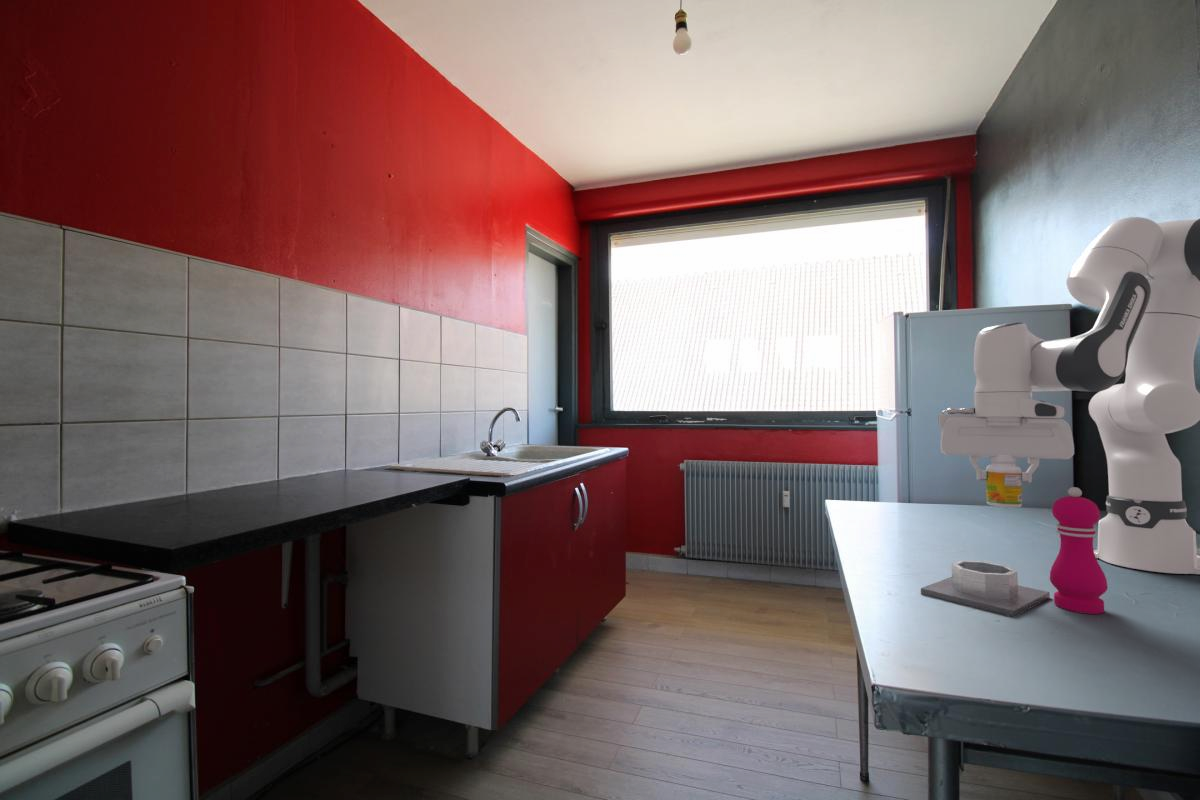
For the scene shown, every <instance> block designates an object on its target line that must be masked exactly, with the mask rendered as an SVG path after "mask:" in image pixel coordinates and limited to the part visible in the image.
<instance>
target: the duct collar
mask: <svg viewBox="0 0 1200 800" xmlns="http://www.w3.org/2000/svg"><path fill="white" fill-rule="evenodd" d="M1018 582H1019V580H1018V570H1015V569H1014V568H1011V567H1008V566H1007V565H1002V564H999V563H995V562H988V561H984V560H983V561H982V560H981V561H980V560H958V561H956V562H953V563H951V577H950V576H949V577H948V578H944V579H942V580H939V581H936V582H933V583H932V584H931V583H930V584H929V585H925V586H923V587H921V588H920V595H925V596H926V597H927V596H928V597H932V598H935V599H941V600H943V601H946V602H947V601H949V602H951V603H955V604H960V605H965V606H968V607H971V608H974V609H975V608H976V609H979V610H984V611H988V612H992V613H995V614H999V615H1004V616H1007V617H1011V618H1015V617H1017V616H1018V614H1019V615H1020V614H1022V613H1024V612H1025V610H1026V611H1027V609H1028V608H1030V607H1032V606H1033V607H1035V606H1037V605H1039V604H1040V603H1039V602H1041V601H1043V600H1045V599H1046V600H1048V599H1050V598H1051V597H1050V596H1051V595H1050V593H1051V592H1050V591H1047V590H1042V589H1039V588H1038V589H1037V588H1031V587H1027V586H1022V585H1019V583H1018ZM1049 597H1050V598H1049ZM1047 598H1048V599H1047ZM1046 600H1045V601H1046ZM1043 602H1044V601H1043ZM1038 603H1039V604H1038ZM1041 603H1042V602H1041ZM1036 604H1037V605H1036ZM1034 605H1035V606H1034ZM1033 607H1032V608H1033ZM1030 609H1031V608H1030ZM1028 610H1029V609H1028ZM1023 611H1024V612H1023ZM1021 612H1022V613H1021ZM1016 615H1017V616H1016ZM1014 616H1015V617H1014Z"/></svg>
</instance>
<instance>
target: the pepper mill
mask: <svg viewBox="0 0 1200 800" xmlns="http://www.w3.org/2000/svg"><path fill="white" fill-rule="evenodd" d="M1082 495H1083V491H1082V490H1081V489H1080V488H1079V487H1075V486H1071V487H1070V488H1069V489H1067V496H1063V497H1060V498H1058V499H1057V500H1055V501H1054V502H1053V504H1052V508H1051V512H1052V516H1053V517H1054V519H1055V520H1057V522H1058V523H1057V524H1056V527H1057V530H1056V533H1058V534H1059V538H1060V546H1059V547H1060V548H1059V550H1058V551H1059V552H1058V554H1057V556H1056V558H1055V560H1054V562H1053V564H1052V566H1051V568H1050V571H1049V581H1050V583H1051V585H1052V586H1053V587H1054V588H1055V589H1056V590H1057V591H1056V592H1054V594H1053V601H1054V605H1055V604H1056V605H1055V606H1057V607H1058V606H1059V607H1058V608H1060V607H1061V609H1063V608H1064V610H1066V609H1067V610H1066V611H1069V610H1070V612H1074V611H1075V612H1074V613H1079V612H1080V613H1079V614H1085V613H1088V615H1099V614H1100V615H1101V614H1103V613H1104V612H1105V600H1103V599H1102V598H1101V597H1102V595H1104V594H1105V593H1106V592H1107V591H1108V581H1107V577H1106V575H1105V573H1104V571H1103V569H1102V568H1101V565H1100V564H1099V562H1098V559H1097V558H1096V557H1095V554H1094V550H1095V549H1094V538H1095V537H1097V532H1096V531H1097V528H1096V527H1094V525H1095V524H1097V523H1098V522H1099V520H1100V517H1101V515H1100V513H1101V512H1100V509H1099V507H1098V505H1097V504H1096V503H1095V502H1093V501H1092V500H1090V499H1089V498H1085V497H1082Z"/></svg>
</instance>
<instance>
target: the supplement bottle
mask: <svg viewBox="0 0 1200 800" xmlns="http://www.w3.org/2000/svg"><path fill="white" fill-rule="evenodd" d="M989 459H990V462H991V464H988V465H987V466H986V469H985V471H987V475H986V477H987V480H985V481H986V482H985V485H986V487H985V488H986V491H985V493H986V504H987V505H989V506H992V507H999V508H1006V509H1007V508H1009V509H1010V508H1013V509H1014V508H1022V505H1023V491H1022V489H1023V487H1022V485H1023V482H1022V480H1021V472H1022V468H1021V467H1019V466H1018V465H1016V463H1017V461H1018V460H1017V457H1011V456H1010V455H998V456H996V457H990V456H989Z"/></svg>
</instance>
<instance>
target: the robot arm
mask: <svg viewBox="0 0 1200 800" xmlns="http://www.w3.org/2000/svg"><path fill="white" fill-rule="evenodd" d="M1087 245H1088V246H1086V248H1085V249H1084V250H1083V251H1082V253H1081V254H1080V256H1079V257H1078V258H1077V260H1076V261H1075V262H1074V263H1073V265H1072V266H1071V268H1070V270H1069V272H1068V274H1067V277H1066V278H1067V279H1066V286H1067V290H1068V293H1069V294H1070V295H1071V296H1072V297H1073V298H1074V299H1075V300H1076V301H1077V302H1078V303H1081V304H1082V305H1084V306H1087V307H1089V308H1091V309H1095V310H1100V311H1099V314H1098V316H1097V319H1096V320H1095V322H1094V325H1093V326H1092V328H1091V329H1090V330H1088V331H1086V332H1085V333H1081V334H1079V335H1076V336H1073V337H1068V338H1059V339H1052V340H1046V339H1045V338H1044V339H1043V338H1040V337H1038V336H1036V335H1035V334H1033V333H1032V332H1031V331H1029V330H1028V327H1027V324H1026V323H1025V322H1021V321H1014V322H1008V323H1003V324H997V325H993V326H987V327H984V328H983V329H981V330H980V331H978V334H977V335H976V338H975V343H974V352H973V372H974V375H975V380H976V384H975V387H974V391H973V393H974V394H973V398H974V399H973V400H974V403H973V404H974V406H973V408H972V407H968V408H967V407H964V408H954V407H952V408H950V407H949V408H946V410H943V411H941V412H940V413H939V414H938V417H937V425H938V428H939V429H940V430H941V431H942V432H941V436H940V448H939V449H940V451H941V453H942V454H944V455H945V456H967V457H969V462H970V464H971V465H972V467H973V468H974V469H975V471H976V480H977V481H986V480H987V477H986V475H987V471H986V470H985V469H984V470H981V468H980V467H979V465H978V464H977V463H979V462H980V457H989V458H990V457H996V456H998V455H1010V456H1011V457H1016V458H1021V459H1027V464H1030V465H1029V466H1028V468H1027V470H1025V471H1024V472H1023V471H1021V480H1022V483H1025V484H1027V483H1028V484H1032V482H1033V475H1032V474H1034V472H1035V471H1036V470H1037V468H1039V465H1040V459H1049V460H1050V459H1051V460H1070V459H1071V458H1072V457H1073V456H1074V455H1075V443H1074V437H1073V432H1072V429H1071V426H1070V425H1069V423H1068V421H1066V420H1064V419H1062V418H1063V417H1064V416H1065V413H1066V412H1065V408H1064V407H1063V406H1062V405H1058V404H1054V403H1051V402H1046V401H1044V400H1038V399H1033V393H1032V392H1063V391H1064V392H1065V391H1066V392H1067V391H1077V392H1093V393H1094V392H1095V394H1094V395H1093V396H1092V397H1091V399H1090V401H1089V403H1088V414H1089V416H1090V417H1091V419H1092V420H1093V421H1094V423H1095V425H1096V426H1097V430H1098V432H1099V437H1100V439H1101V442H1102V446H1103V449H1104V452H1105V457H1106V464H1107V475H1108V477H1107V478H1108V495H1106V501H1105V505H1106V512H1107V515H1105V516H1104V517H1102V518H1101V519H1099V520H1098V521H1097V523H1098V524H1097V525H1098V526H1097V527H1098V528H1097V549H1093V550H1094V554H1095V557H1096V559H1098V558H1099V560H1102V561H1104V562H1106V563H1109V564H1111V565H1112V564H1113V565H1116V566H1120V567H1125V568H1128V569H1133V570H1135V569H1136V570H1141V571H1147V572H1156V573H1163V574H1164V573H1165V574H1175V575H1177V574H1178V575H1179V574H1180V575H1182V574H1184V575H1189V574H1191V575H1200V548H1198V547H1197V533H1196V531H1195V530H1194V529H1193V528H1192V527H1191V526H1190V525H1189V524H1188V523H1187V521H1186V519H1187V517H1188V515H1187V511H1188V510H1187V506H1186V501H1185V500H1183V489H1182V487H1183V484H1182V465H1181V462H1180V460H1179V458H1177V457H1176V455H1175V454H1174V453H1173V451H1172V449H1171V447H1170V445H1169V443H1168V440H1167V437H1166V434H1170V433H1171V434H1172V433H1175V432H1179V431H1183V430H1185V429H1189V428H1191V427H1193V426H1194V425H1196V424H1197V423H1198V422H1199V421H1200V392H1199V391H1198V390H1197V387H1196V382H1195V381H1196V380H1195V370H1194V369H1195V367H1194V360H1195V353H1196V349H1197V345H1198V341H1199V337H1200V218H1198V219H1185V220H1184V219H1183V220H1182V219H1181V220H1171V221H1164V222H1163V221H1162V222H1158V223H1157V222H1155V221H1153V220H1152V219H1148V218H1146V217H1141V216H1140V217H1139V216H1128V217H1124V218H1121V219H1120V218H1119V219H1118V220H1116V221H1114V222H1112V223H1111V224H1109V225H1107V226H1106V227H1105V228H1104V229H1103V230H1102V231H1101V232H1100V233H1099V234H1098V235H1096V237H1094V239H1092V241H1091V242H1090V243H1089V244H1087ZM1124 373H1125V379H1124V383H1118V382H1119V380H1120V379H1121V378H1122V376H1123V375H1124ZM1116 383H1117V384H1116ZM1096 392H1097V393H1096Z"/></svg>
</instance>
